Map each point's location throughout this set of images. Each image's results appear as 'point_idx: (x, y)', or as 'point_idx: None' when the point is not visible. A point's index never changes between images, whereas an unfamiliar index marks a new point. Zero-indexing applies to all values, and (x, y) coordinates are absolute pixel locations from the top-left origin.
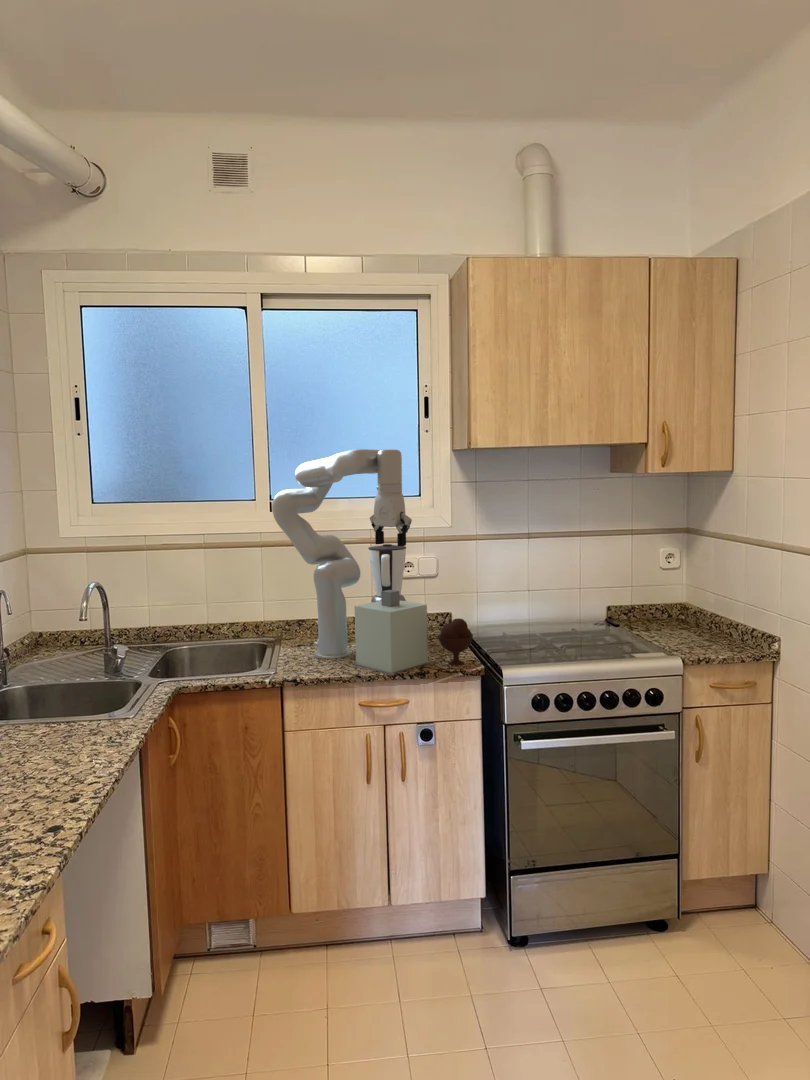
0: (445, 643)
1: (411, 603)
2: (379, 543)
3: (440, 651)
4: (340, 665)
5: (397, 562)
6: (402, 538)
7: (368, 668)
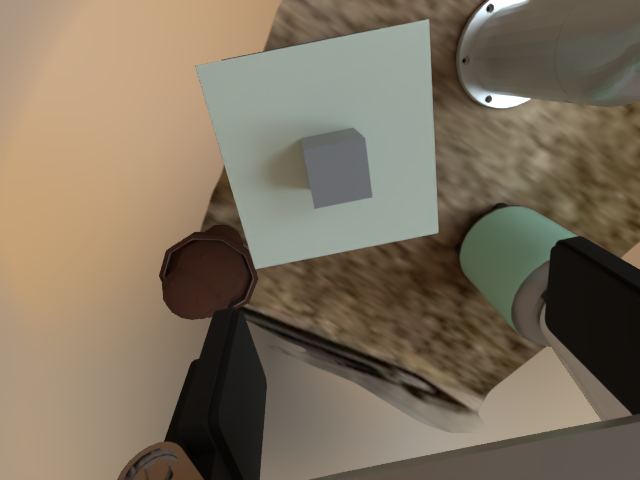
0: (194, 232)
1: (310, 241)
2: (551, 273)
3: (343, 281)
4: (404, 4)
5: (618, 411)
6: (179, 401)
7: (310, 42)
